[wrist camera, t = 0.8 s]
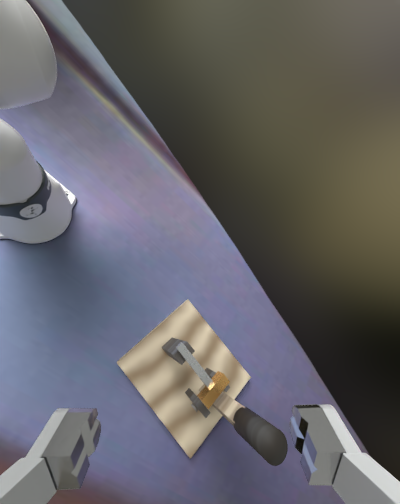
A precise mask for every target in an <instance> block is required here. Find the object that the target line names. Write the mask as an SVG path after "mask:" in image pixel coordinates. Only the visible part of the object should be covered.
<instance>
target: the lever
mask: <svg viewBox="0 0 400 504" xmlns="http://www.w3.org/2000/svg"><path fill="white" fill-rule="evenodd" d="M204 387H205V384H203V386H202V387H201V388H200V389H199V391H200V392H201V390H202V389H203V388H204ZM212 406H213V407H214V408H215V409H216V410H217V411H218V412H219V413H220V414H222V415H223V416H224V417H225V418H226V419H227V420H228V421H229V422H230V423H231V424H232V425H233V426H234V428H235V430H236V432H237V433H238V434H239V435H240V436H241V437H242V438H243V439H245V440H246V441H247V442H248V443H249V444H250V445H251V446H252V447H253V448H254V449H255V450H256V451H257V452H258V453H259V454H260V455H261V456H262V457H263V458H264V459H265V460H266V461H267V462H268V463H269V464H271V465H273V466H277V465H279V464H281V463H282V462H283V461H284V459H285V457H286V454H287V440H286V437H285V435H284V434H283V433H282V432H281V431H280V430H279V429H277V428H276V427H274V426H273V425H272V424H270V423H269V422H267V421H266V420H264V419H263V418H261V417H260V416H259V415H257V414H256V413H254V412H253V411H251V410H250V409H248V408H246V407H244V406H242V405H241V404H240V403H238V402H237V401H235V400H234V399H232V398H231V397H230V396H228V395H227V394H225V393H224V392H222V393H221V394H220V395H219V397H218V398H217V399H216V400H215V402H214V403H213V404H212Z"/></svg>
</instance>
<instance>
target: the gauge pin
mask: <svg viewBox="0 0 400 504" xmlns="http://www.w3.org/2000/svg"><path fill="white" fill-rule="evenodd" d="M175 348H176V349H177V350H178V351H179V353H180V354H181V355H182V356H183V358H184V359H185V360H186V362H187V363H188V364H189V365H190V367H191V368H192V369H193V370H194V372H195V373H196V374H197V375H198V377H199V378H200V379H201V381H202V382H203V383H204V384H205V387H204V388H203V389H202V390H201V392H200V393H199V394H198V395H197V397H198V398H199V399H200V400H201V402H202V403H203V404H204V405H205V406H206V407H207V408H208V409H209V408H210V407H211V405H212V404H213V403H214V402H215V400H216V399H217V398H218V397H219V395H220V394H221V393H222V391H223V390H224V389H225V388H226V386H227V385H228V384H229V383H230V381H229V380H228V378H227V377H226V376H225V375H224V374H223V373H221V372H219V371H217V373H216V374H215V375H214V376H213V377H212V378H210V377H209V375H208V374H207V373H206V372H205V370H204V369H203V368H202V367H201V365H200V364H199V363H198V362H197V360H196V359H195V358H194V357H193V355H192V354H191V353H190V351H189V350H188V349H187V348H186V346H185V345H184V344H183V343H182V342H180V343H179V344H178V345H177V346H176V347H175Z"/></svg>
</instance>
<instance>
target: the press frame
mask: <svg viewBox="0 0 400 504" xmlns="http://www.w3.org/2000/svg"><path fill="white" fill-rule="evenodd" d="M180 342H182V343H183V344H184V345H185V346H186V348H187V349H188V350H189V351H190V353H191V354H192V355H193V357H194V358H195V359H196V360H197V362H198V363H199V364H200V365H201V367H202V368H203V369H204V370H205V372H206V373H207V374H208V375H209V377H210V378H212V377H213V376H214V375H215V374H216V373H217V371H219V372H221V373H223V374H224V375H225V376H226V377H227V378H228V380H229V381H230V383H229V384H228V385H227V386H226V388H225V389H224V390H223V391H222V392H224V393H225V394H227V395H228V396H230V397H231V398H232V399H235V398H236V397H237V395H238V394H239V393H240V391H241V390H242V389H243V387H244V386H245V385H246V383H247V382H248V380H249V379H250V378H251V377H250V376H249V374H248V373H247V372H246V371H245V370H244V368H243V367H242V366H241V365H240V363H239V362H238V361H237V360H236V358H235V357H234V356H233V355H232V353H231V352H230V351H229V350H228V348H227V347H226V346H225V345H224V343H223V342H222V341H221V340H220V339H219V337H218V336H217V335H216V334H215V332H214V331H213V330H212V329H211V327H210V326H209V325H208V324H207V322H206V321H205V320H204V319H203V317H202V316H201V315H200V314H199V312H198V311H197V310H196V309H195V307H194V306H193V305H192V304H191V303H190V301H189V300H186V301H185V302H184V303H183V304H181V305H180V306H179V307H178V308H177V309H176V310H175V311H173V312H172V313H171V314H170V315H169V316H168V317H167V318H166V319H164V320H163V321H162V322H161V323H160V324H159V325H158V326H157V327H155V328H154V329H153V330H152V331H151V332H150V333H149V334H148V335H146V336H145V337H144V338H143V339H142V340H141V341H140V342H138V343H137V344H136V345H135V346H134V347H133V348H132V349H131V350H129V351H128V352H127V353H126V354H125V355H124V356H123V357H122V358H120V359H119V360H118V361H117V364H118V365H119V366H120V368H121V369H122V370H123V372H124V373H125V374H126V375H127V377H128V378H129V379H130V381H131V382H132V383H133V385H134V386H135V387H136V389H137V390H138V391H139V392H140V394H141V395H142V396H143V398H144V399H145V400H146V402H147V403H148V404H149V405H150V407H151V408H152V409H153V411H154V412H155V413H156V415H157V416H158V417H159V419H160V420H161V421H162V422H163V424H164V425H165V426H166V428H167V429H168V430H169V432H170V433H171V434H172V435H173V437H174V438H175V439H176V441H177V442H178V443H179V445H180V446H181V447H182V449H183V450H184V451H185V452H186V454H187V455H188V456H189V458H190V459H191V457H192V456H193V455H194V453H195V452H196V451H197V449H198V448H199V446H200V445H201V444H202V442H203V441H204V440H205V438H206V437H207V436H208V434H209V433H210V432H211V430H212V429H213V428H214V426H215V425H216V424H217V422H218V421H219V420H220V418H221V417H222V416H223V415H222V414H220V413H219V412H218V411H217V410H216V409H215V408H214V407H213V406H212V405H211V407H210V408H209V409H208V408H207V407H206V406H205V405H204V404H203V403H202V402H201V400H200V399H199V398H198V397H197V395H198V394H199V393H200V391H199V389H200V388H201V387H202V386H203V384H204V383H203V382H202V381H201V379H200V378H199V377H198V375H197V374H196V373H195V372H194V370H193V369H192V368H191V367H190V365H189V364H188V363H187V362H186V360H185V359H184V358H183V356H182V355H181V354H180V353H179V351H178V350H177V349H176V348H175V347H176V346H177V345H178V344H179V343H180Z"/></svg>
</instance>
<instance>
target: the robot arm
mask: <svg viewBox="0 0 400 504" xmlns="http://www.w3.org/2000/svg"><path fill="white" fill-rule="evenodd" d="M56 79H57V65H56V58H55V54H54V50H53V47H52V44H51V41H50V39H49V37H48V34H47V32H46V30H45V28H44V26H43V24H42V23H41V21H40V19H39V18H38V16H37V15H36V13H35V12H34V10H33V9H32V8H31V6H30V5H29V4H28V2H27V1H26V0H0V109H12V108H16V107H20V106H24V105H27V104H31V103H34V102H38V101H41V100H44V99H47V98H50V97H51V95H52V93H53V91H54V88H55V84H56ZM67 195H68V196H67ZM75 203H76V197H75V196H74V194H72V193H71V192H70V191H69V190H68V189H66V188H65V187H64V186H63V185H62V184H61V183H59V182H58V181H57V180H56V179H55V178H53V177H52V176H51V175H50V174H49V173H47V172H46V171H45V170H44V169H43V168H42V166H41V165H40V164H39V163H38V162H37V161H36V160H35V159H34V157H33V155H32V153H31V151H30V150H29V148H28V146H27V144H26V142H25V141H24V139H23V137H22V136H21V135H20V134H19V133H18V132H17V131H16V130H15V129H14V128H13V127H11V126H10V125H9V124H8V123H6V122H5V121H3V120H2V119H0V239H12V240H15V241H19V242H23V243H42V242H46V241H49V240H52V239H54V238H56V237H57V236H59V235H60V234H62V233H63V232H64V231H65V230H66V228H67V227H68V225H69V223H70V221H71V216H72V208H73V206H74V205H75ZM292 413H293V417H292V418H291V419H290V433H291V437H292V440H293V443H294V446H295V448H296V449H297V450H298V451H299V452H300V453H301V454H302V455H301V460H300V463H301V465H302V468H303V471H304V473H305V476H306V479H307V481H308V484H309V485H333V486H332V487H333V488H334V490H335V491H336V492H337V493H338V495H339V496H340V497H341V498H342V499H343V501H344V502H345V503H346V504H400V482H399V481H398V480H397V479H396V478H394V477H393V476H392V475H391V474H390V473H389V472H387V471H386V470H385V469H384V468H383V467H382V466H380V465H379V464H378V463H377V462H376V461H375V460H373V459H372V458H371V457H370V456H369V455H368V454H366V453H362V452H361V451H360V449H359V447H358V446H357V444H356V443H355V441H354V439H353V438H352V436H351V434H350V433H349V431H348V430H347V428H346V426H345V425H344V423H343V421H342V420H341V418H340V416H339V415H338V413H337V412H336V410H335V408H334V407H333V406H332V405H329V404H328V405H317V404H315V405H294V406H293V407H292ZM97 415H98V412H97V408H58V409H57V410H56V411H55V412H54V413H53V414H52V416H51V417H50V419H49V421H48V422H47V424H46V425H45V427H44V429H43V430H42V432H41V433H40V435H39V436H38V438H37V440H36V441H35V443H34V444H33V446H32V448H31V449H30V451H29V452H28V454H27V455H26V457H25V458H20V459H19V460H18V461H17V462H16V463H15V464H13V465H12V466H11V467H10V468H9V469H8V470H6V471H5V472H4V473H3V474H2V475H0V504H47V503H48V501H49V500H50V499H51V498H52V497H53V495H54V494H55V493H56V490H62V489H80V488H81V486H82V483H83V481H84V478H85V475H86V473H87V470H88V468H89V465H90V464H89V458H88V457H89V456H90V455H91V454H92V453H93V452H94V451H95V450H96V447H97V444H98V441H99V437H100V432H101V425H100V421H99V420H97V419H96V418H97Z"/></svg>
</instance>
